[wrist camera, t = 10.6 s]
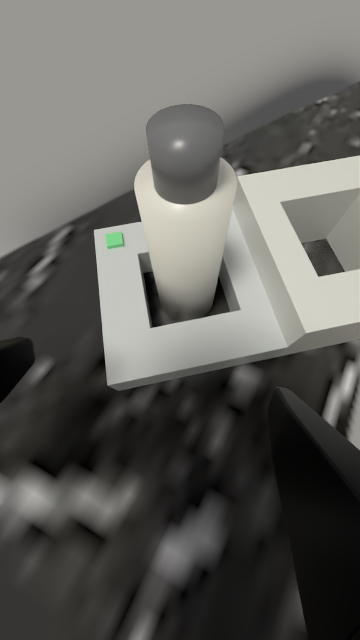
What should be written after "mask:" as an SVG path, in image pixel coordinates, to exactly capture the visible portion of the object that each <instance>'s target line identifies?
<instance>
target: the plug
mask: <svg viewBox="0 0 360 640" xmlns="http://www.w3.org/2000/svg"><path fill="white" fill-rule="evenodd" d="M223 132H224V123H223V120H222V119H221V117H220V116H219V115H218V114H217V113H216V112H214V111H212V110H211V109H209V108H206V107H203V106H199V105H192V104H182V105H175V106H170V107H167V108H165V109H162V110H160V111H158V112H157V113H156V114H154V115H153V116H152V117H151V118H150V119H149V121H148V123H147V126H146V133H147V140H148V147H149V154H150V160H149V161H147V162H146V163H145V164H144V165H143V166H142V167H141V168H140V170H139V171H138V173H137V175H136V178H135V182H134V188H135V194H136V198H137V203H138V207H139V212H140V216H141V220H142V225H143V229H144V234H145V238H146V242H147V247H148V251H149V256H150V260H151V264H152V269H153V273H154V278H155V282H156V287H157V291H158V295H159V300H160V304H161V307H162V309H163V311H164V312H165V313H166V315H168V316H169V317H170V318H172V319H174V320H176V321H179V322H184V321H189V320H194V319H199V318H203V317H204V316H205V315H206V314H207V313H208V312H209V311H210V309H211V307H212V304H213V300H214V295H215V290H216V285H217V280H218V276H219V271H220V266H221V261H222V256H223V251H224V247H225V242H226V237H227V232H228V227H229V223H230V218H231V213H232V208H233V203H234V198H235V194H236V189H237V178H236V175H235V172H234V170H233V169H232V167H231V166H230V165H229V164H228V163H227V162H226V161H225V160H224V159H222V158H221V148H222V140H223Z"/></svg>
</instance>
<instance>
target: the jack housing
mask: <svg viewBox="0 0 360 640" xmlns="http://www.w3.org/2000/svg"><path fill="white" fill-rule="evenodd" d="M94 235H95V247H96V258H97V270H98V282H99V294H100V305H101V317H102V329H103V340H104V352H105V364H106V375H107V386H109V387H111V388H114V389H116V390H118V391H120V390H125V389H130V388H134V387H139V386H144V385H148V384H153V383H158V382H162V381H167V380H172V379H176V378H181V377H186V376H190V375H195V374H200V373H204V372H209V371H214V370H218V369H223V368H228V367H232V366H237V365H242V364H246V363H251V362H256V361H260V360H265V359H270V358H274V357H279V356H284V355H288V354H293V353H298V352H302V351H307V350H312V349H316V348H321V347H326V346H330V345H335V344H340V343H344V342H349V341H354V340H358V339H360V156H355V157H349V158H343V159H337V160H331V161H326V162H320V163H314V164H308V165H302V166H296V167H291V168H285V169H279V170H273V171H267V172H261V173H255V174H250V175H244V176H238V177H237V189H236V194H235V198H234V203H233V208H232V213H231V218H230V223H229V227H228V232H227V237H226V242H225V247H224V251H223V256H222V261H221V266H220V271H219V278H220V281H221V285H222V288H223V291H224V294H225V297H226V300H227V303H228V306H229V310H230V312H229V313H224V314H219V315H214V316H209V317H204V318H199V319H194V320H189V321H184V322H179V323H174V324H169V325H164V326H159V327H154V328H153V326H152V321H151V315H150V309H149V303H148V298H147V292H146V286H145V280H144V275H143V273H147V272H152V271H153V269H152V264H151V260H150V256H149V251H148V247H147V242H146V238H145V234H144V229H143V225H142V222H137V223H132V224H126V225H120V226H115V227H109V228H103V229H98V230H94ZM322 239H327V241H328V243H329V245H330V246H331V248H332V250H333V252H334V253H335V255H336V257H337V259H338V260H339V262H340V264H341V266H342V267H343V269H344V271H345V272H342V273H337V274H332V275H327V276H322V277H318V276H317V274H316V272H315V270H314V268H313V266H312V264H311V262H310V260H309V258H308V256H307V254H306V252H305V250H304V248H303V246H302V244H301V243H306V242H311V241H316V240H322Z"/></svg>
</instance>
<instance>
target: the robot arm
mask: <svg viewBox="0 0 360 640" xmlns="http://www.w3.org/2000/svg"><path fill="white" fill-rule="evenodd" d="M34 361H35V352H34V344H33V341H32V340H31V339H30V338H25V337H16V338H11V339H6V340H1V341H0V403H1V402H2V401H3V400H4V399H5V398H6V397H7V396H8V394H9V393H10V392H11V391H12V390H13V388H14V387H15V386H16V385H17V383H18V382H19V381H20V380H21V379H22V377H23V376H24V375H25V374H26V372H27V371H28V370H29V369H30V367H31V366H32V365H33V363H34ZM268 416H269V428H270V440H271V451H272V459H273V464H274V469H275V474H276V479H277V484H278V489H279V494H280V499H281V504H282V509H283V514H284V519H285V524H286V529H287V534H288V539H289V544H290V549H291V554H292V559H293V564H294V569H295V574H296V579H297V584H298V589H299V594H300V599H301V604H302V609H303V614H304V619H305V624H306V629H307V634H308V639H309V640H360V450H359V449H357V448H356V447H355V446H354V445H353V444H352V443H351V442H349V441H348V440H347V439H346V438H345V437H344V436H342V435H341V434H340V433H339V432H338V431H337V430H336V429H334V428H333V427H332V426H331V425H330V424H329V423H327V422H326V421H325V420H324V419H323V418H322V417H321V416H319V415H318V414H317V413H316V412H315V411H314V410H312V409H311V408H310V407H309V406H308V405H307V404H306V403H304V402H303V401H302V400H301V399H300V398H299V397H297V396H296V395H295V394H294V393H293V392H292V391H290V390H289V389H287V388H282V387H276V388H275V389H274V392H273V395H272V398H271V401H270V404H269V408H268Z"/></svg>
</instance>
